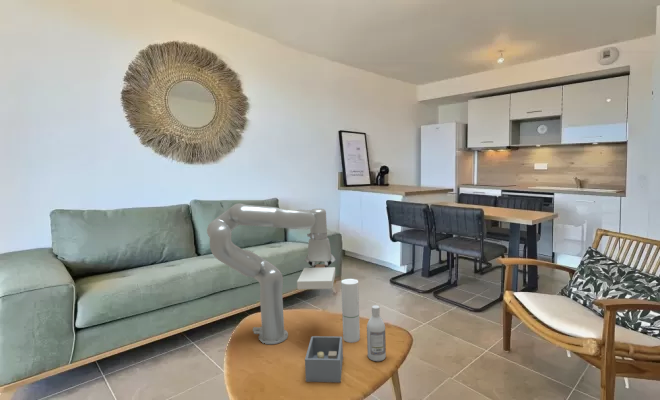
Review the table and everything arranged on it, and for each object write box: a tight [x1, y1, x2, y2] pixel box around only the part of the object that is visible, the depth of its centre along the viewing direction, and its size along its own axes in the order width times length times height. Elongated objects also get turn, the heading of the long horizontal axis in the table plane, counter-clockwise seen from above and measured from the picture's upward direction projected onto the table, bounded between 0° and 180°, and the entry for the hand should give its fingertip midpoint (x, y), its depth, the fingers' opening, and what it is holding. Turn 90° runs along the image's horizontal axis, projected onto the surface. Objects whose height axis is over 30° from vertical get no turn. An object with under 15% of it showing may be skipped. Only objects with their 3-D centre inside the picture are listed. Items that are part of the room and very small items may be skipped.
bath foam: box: [366, 304, 387, 362], centre depth 129 cm, size 7×7×20 cm
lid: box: [296, 263, 336, 290], centre depth 146 cm, size 23×14×3 cm, turn 175°
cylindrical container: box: [340, 278, 361, 344], centre depth 144 cm, size 7×7×25 cm
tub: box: [304, 335, 344, 383], centre depth 124 cm, size 16×12×8 cm
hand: (320, 274), depth 156 cm, fingers closed on lid, 4 cm apart
